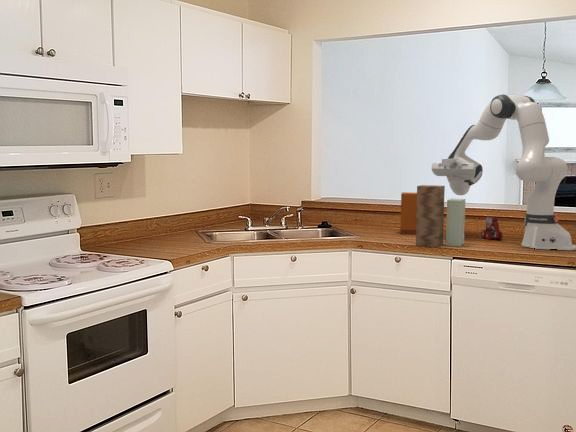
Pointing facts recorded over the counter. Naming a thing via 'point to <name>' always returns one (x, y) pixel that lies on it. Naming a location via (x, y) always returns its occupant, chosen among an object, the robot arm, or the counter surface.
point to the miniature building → (408, 213)
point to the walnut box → (430, 215)
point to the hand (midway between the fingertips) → (451, 161)
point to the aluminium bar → (448, 162)
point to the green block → (455, 222)
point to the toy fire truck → (491, 229)
